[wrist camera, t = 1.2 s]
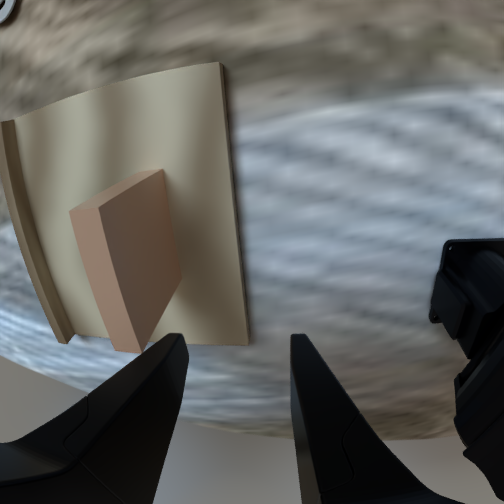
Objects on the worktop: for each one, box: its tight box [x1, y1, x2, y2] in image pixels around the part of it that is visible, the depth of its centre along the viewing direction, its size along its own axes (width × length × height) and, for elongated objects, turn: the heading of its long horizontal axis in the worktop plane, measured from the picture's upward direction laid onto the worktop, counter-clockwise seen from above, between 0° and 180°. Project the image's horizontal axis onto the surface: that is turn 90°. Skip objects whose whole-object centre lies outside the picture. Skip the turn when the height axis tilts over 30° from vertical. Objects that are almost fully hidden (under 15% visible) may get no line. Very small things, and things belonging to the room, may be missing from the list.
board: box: [0, 62, 250, 345], centre depth 19 cm, size 16×18×2 cm
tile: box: [69, 169, 182, 354], centre depth 15 cm, size 2×7×7 cm, turn 5°
